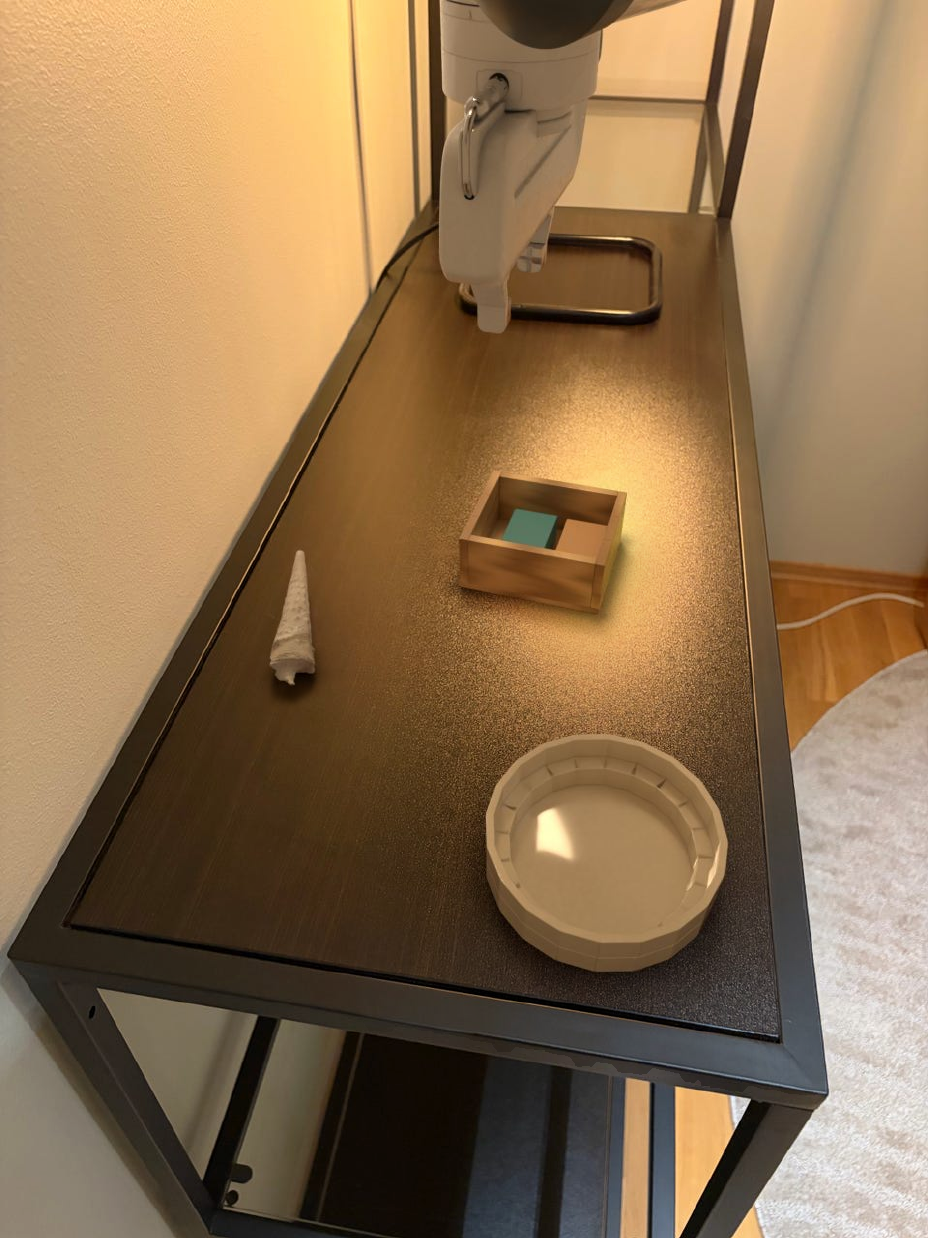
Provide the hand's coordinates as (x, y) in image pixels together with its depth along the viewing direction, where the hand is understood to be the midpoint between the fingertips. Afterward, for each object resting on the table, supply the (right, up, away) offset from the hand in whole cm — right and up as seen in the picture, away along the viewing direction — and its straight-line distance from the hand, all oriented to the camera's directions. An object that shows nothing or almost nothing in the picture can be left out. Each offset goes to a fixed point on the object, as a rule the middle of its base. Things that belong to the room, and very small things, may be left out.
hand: (513, 296), depth 58 cm
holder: (+4, -16, +22) cm, 28 cm away
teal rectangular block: (+2, -16, +22) cm, 27 cm away
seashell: (-17, -23, +16) cm, 33 cm away
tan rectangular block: (+7, -17, +20) cm, 27 cm away
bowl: (+6, -38, 0) cm, 38 cm away
